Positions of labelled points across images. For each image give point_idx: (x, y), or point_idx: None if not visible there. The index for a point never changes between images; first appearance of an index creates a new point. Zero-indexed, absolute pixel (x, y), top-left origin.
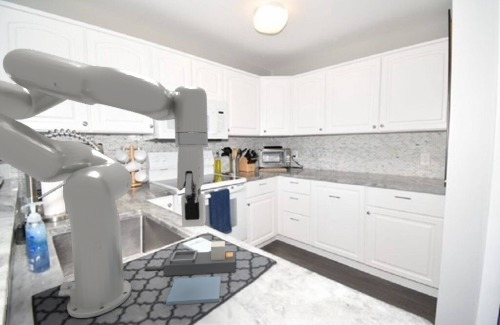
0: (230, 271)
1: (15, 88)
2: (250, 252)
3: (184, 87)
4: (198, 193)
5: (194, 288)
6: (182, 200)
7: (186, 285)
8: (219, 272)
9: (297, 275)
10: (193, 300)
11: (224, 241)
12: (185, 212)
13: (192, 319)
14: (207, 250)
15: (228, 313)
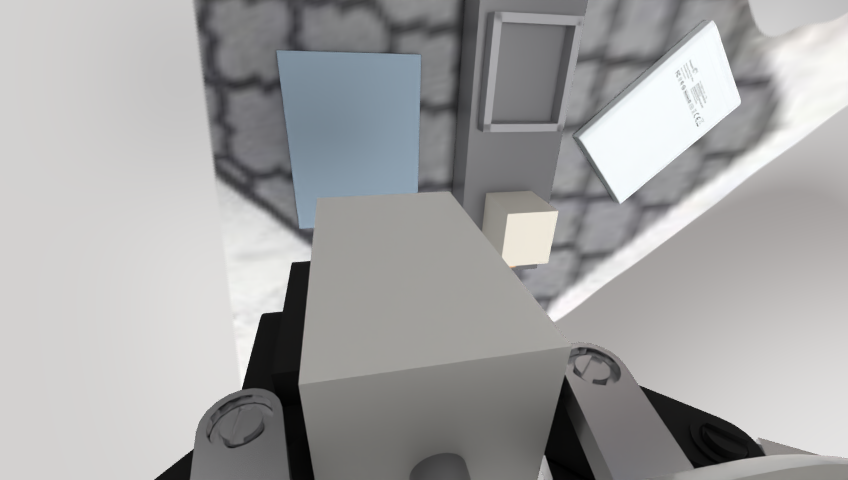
0: None
1: None
2: (555, 294)
3: None
4: (549, 476)
5: (352, 143)
6: (301, 364)
7: (371, 110)
8: None
9: None
10: (289, 150)
11: (545, 260)
12: (286, 301)
13: (217, 158)
14: (603, 152)
15: (252, 253)
